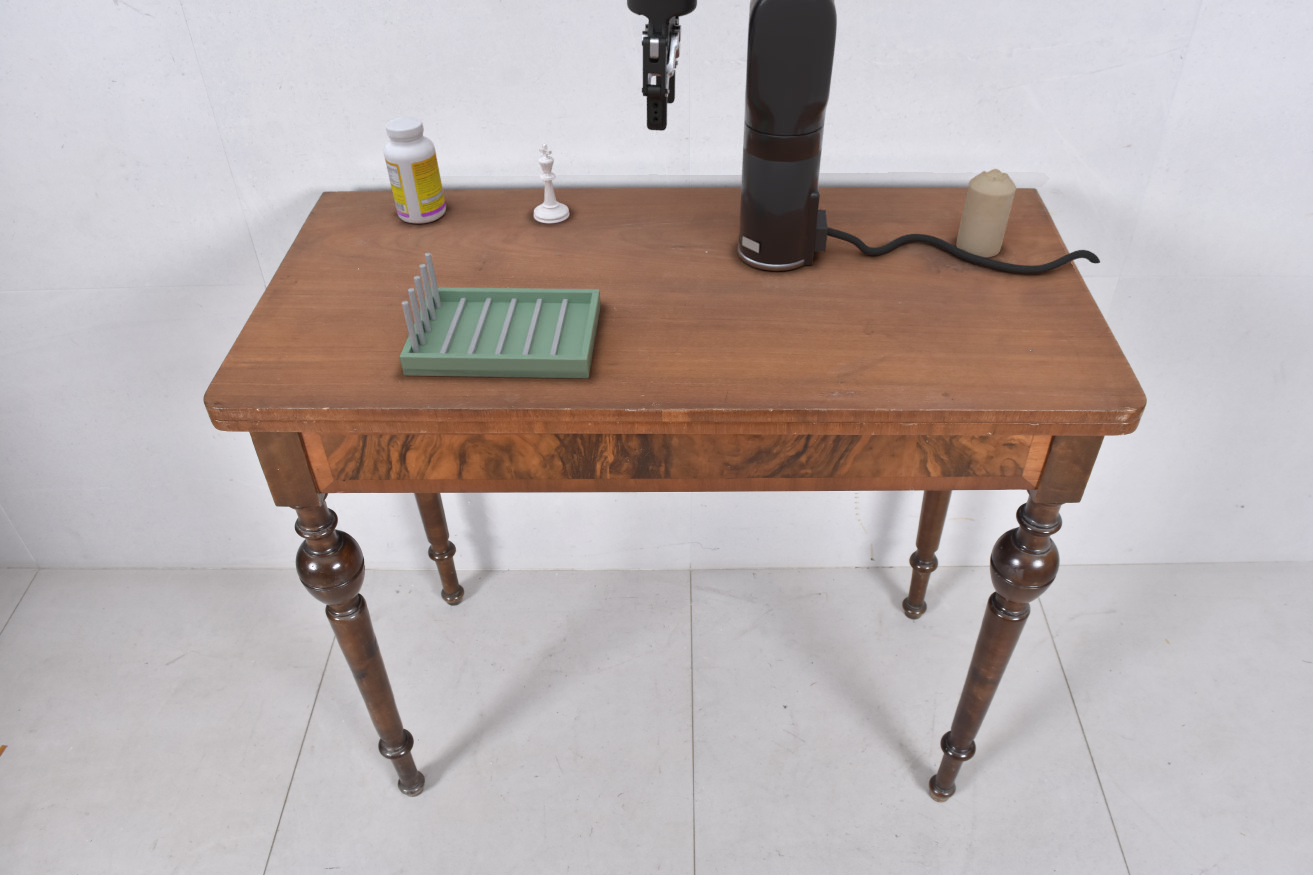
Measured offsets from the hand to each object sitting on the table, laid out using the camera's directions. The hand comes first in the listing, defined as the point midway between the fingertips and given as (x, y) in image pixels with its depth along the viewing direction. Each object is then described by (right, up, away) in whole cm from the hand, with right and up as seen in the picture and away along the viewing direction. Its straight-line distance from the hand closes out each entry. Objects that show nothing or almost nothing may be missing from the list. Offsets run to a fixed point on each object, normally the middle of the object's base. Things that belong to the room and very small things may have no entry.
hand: (661, 115), depth 107 cm
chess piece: (-15, -7, +20) cm, 26 cm away
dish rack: (-17, -26, -2) cm, 32 cm away
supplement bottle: (-33, -6, +21) cm, 40 cm away
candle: (+41, -13, +12) cm, 44 cm away
